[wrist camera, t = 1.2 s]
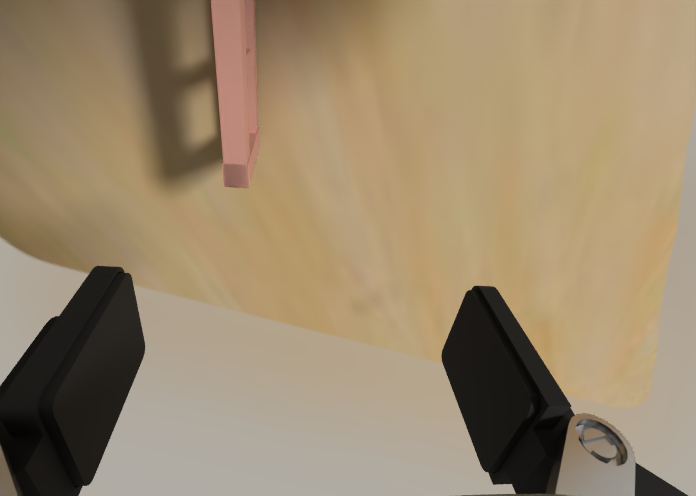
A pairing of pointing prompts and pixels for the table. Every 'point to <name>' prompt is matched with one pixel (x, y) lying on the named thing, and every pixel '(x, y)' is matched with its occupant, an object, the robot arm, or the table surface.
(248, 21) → the gate
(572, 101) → the table surface
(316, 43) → the table surface
